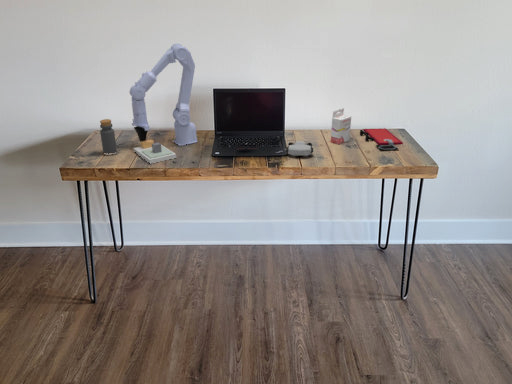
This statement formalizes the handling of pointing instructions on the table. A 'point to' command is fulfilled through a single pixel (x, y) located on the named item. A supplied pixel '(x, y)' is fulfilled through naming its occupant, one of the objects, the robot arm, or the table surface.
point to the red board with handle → (381, 138)
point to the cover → (157, 151)
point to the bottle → (107, 137)
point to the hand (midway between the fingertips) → (143, 142)
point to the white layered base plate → (153, 160)
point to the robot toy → (299, 148)
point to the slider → (147, 143)
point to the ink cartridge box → (340, 127)
